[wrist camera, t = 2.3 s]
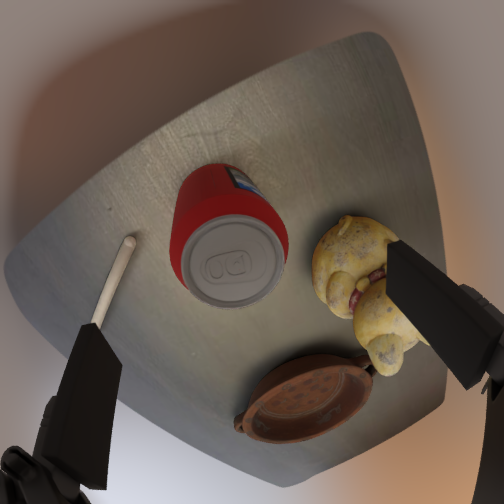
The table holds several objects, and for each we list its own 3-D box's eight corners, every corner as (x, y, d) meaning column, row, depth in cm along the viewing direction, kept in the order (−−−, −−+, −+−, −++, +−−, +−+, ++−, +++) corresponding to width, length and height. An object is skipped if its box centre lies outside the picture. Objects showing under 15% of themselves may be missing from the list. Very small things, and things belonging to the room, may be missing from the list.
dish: (199, 387, 36) (201, 418, 32) (356, 308, 35) (375, 334, 30) (258, 435, 44) (264, 459, 40) (379, 377, 43) (392, 399, 39)
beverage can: (260, 226, 28) (302, 303, 17) (187, 243, 27) (188, 330, 17) (248, 154, 25) (290, 189, 14) (169, 171, 24) (149, 221, 14)
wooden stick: (88, 330, 30) (85, 337, 28) (127, 232, 26) (125, 237, 25) (97, 334, 30) (95, 341, 29) (139, 237, 26) (137, 243, 25)
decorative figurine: (316, 296, 33) (380, 403, 19) (283, 238, 29) (353, 348, 16) (388, 250, 32) (476, 332, 19) (366, 188, 28) (477, 257, 15)
